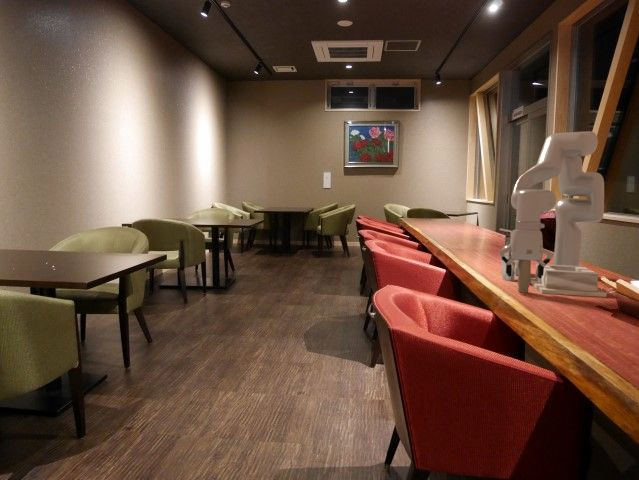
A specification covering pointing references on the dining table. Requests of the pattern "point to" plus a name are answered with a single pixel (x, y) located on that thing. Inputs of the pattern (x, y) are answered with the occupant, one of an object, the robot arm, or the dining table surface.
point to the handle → (524, 274)
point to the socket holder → (567, 281)
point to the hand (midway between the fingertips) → (524, 276)
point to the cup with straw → (514, 263)
